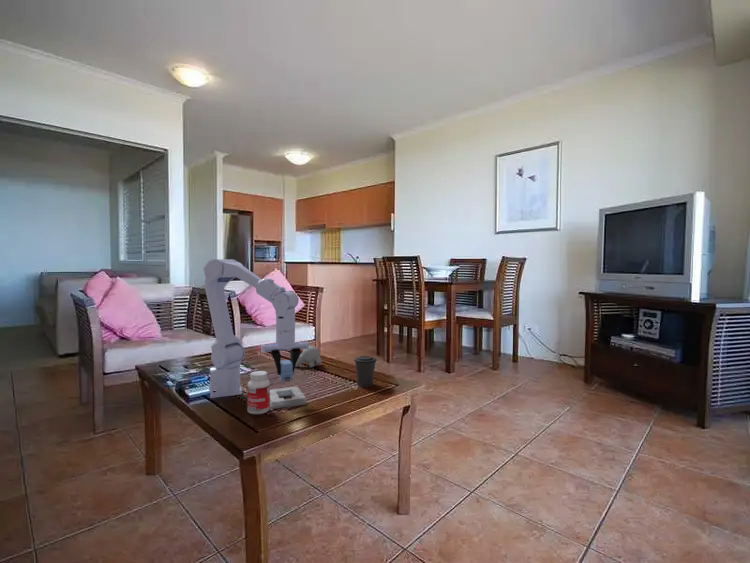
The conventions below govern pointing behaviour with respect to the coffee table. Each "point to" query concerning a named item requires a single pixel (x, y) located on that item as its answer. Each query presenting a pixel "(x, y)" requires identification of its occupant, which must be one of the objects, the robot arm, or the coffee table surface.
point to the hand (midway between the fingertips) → (285, 373)
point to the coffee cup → (365, 370)
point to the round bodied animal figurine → (309, 357)
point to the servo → (286, 370)
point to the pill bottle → (258, 393)
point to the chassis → (283, 392)
